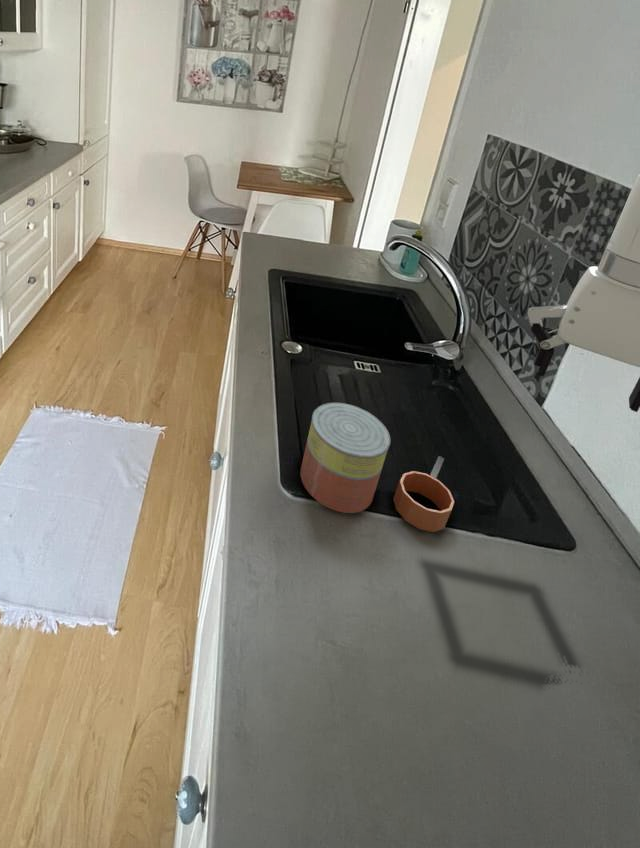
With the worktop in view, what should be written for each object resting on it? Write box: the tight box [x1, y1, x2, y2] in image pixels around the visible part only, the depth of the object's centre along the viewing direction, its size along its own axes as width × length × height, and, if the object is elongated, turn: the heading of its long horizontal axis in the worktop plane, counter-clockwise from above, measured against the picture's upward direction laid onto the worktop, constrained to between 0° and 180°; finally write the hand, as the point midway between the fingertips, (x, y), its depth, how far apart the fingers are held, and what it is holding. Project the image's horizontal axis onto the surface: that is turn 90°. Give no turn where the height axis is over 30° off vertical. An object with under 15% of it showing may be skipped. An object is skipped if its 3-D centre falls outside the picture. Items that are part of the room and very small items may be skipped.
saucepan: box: [392, 455, 456, 533], centre depth 77 cm, size 13×7×5 cm, turn 139°
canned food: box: [299, 402, 392, 514], centre depth 78 cm, size 11×11×12 cm
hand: (584, 387), depth 66 cm, fingers open, 9 cm apart
